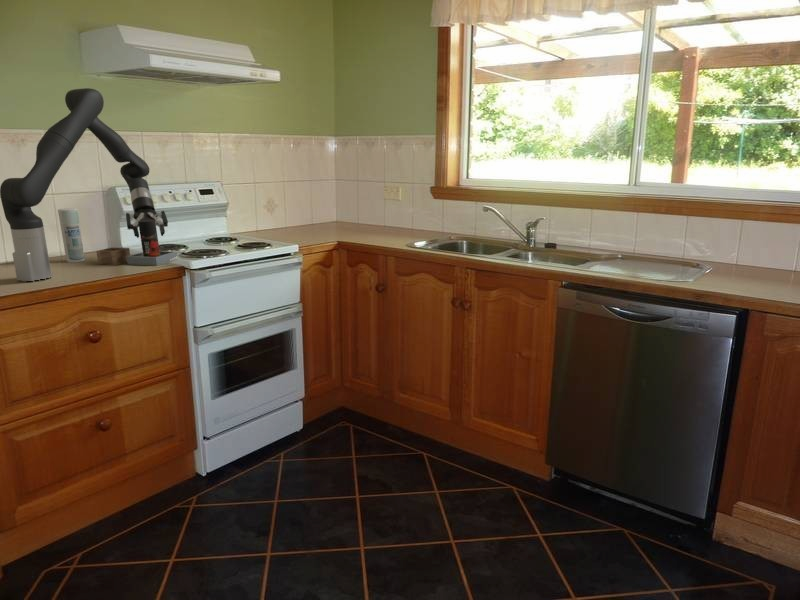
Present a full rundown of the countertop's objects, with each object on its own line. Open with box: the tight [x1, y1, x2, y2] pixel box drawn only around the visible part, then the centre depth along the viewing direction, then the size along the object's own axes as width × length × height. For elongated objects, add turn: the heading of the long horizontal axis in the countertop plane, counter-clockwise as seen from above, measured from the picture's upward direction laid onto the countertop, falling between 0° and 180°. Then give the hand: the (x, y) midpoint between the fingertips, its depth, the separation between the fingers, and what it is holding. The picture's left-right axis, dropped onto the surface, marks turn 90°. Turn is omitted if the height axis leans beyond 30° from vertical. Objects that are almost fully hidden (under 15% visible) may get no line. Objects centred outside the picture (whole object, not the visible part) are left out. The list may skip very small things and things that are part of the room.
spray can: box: [57, 207, 86, 263], centre depth 226 cm, size 6×6×20 cm
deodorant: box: [138, 219, 161, 257], centre depth 222 cm, size 6×6×15 cm
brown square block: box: [96, 246, 131, 266], centre depth 223 cm, size 8×8×5 cm
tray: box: [126, 250, 178, 267], centre depth 224 cm, size 13×13×3 cm
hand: (150, 235), depth 220 cm, fingers open, 8 cm apart
